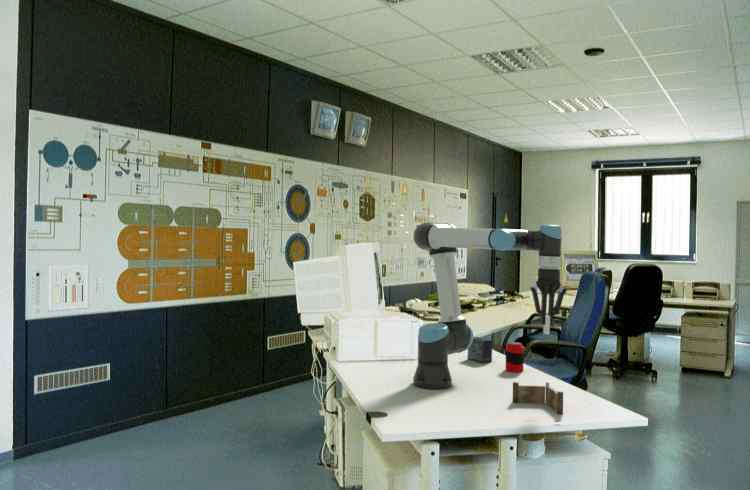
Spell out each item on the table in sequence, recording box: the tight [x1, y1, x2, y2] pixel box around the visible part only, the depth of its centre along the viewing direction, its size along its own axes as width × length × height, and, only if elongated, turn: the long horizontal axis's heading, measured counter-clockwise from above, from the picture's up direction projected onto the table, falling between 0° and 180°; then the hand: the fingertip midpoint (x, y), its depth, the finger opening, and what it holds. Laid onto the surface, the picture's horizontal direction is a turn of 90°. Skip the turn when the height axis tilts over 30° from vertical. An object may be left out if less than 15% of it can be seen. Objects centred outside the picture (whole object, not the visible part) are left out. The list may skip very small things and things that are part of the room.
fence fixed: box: [512, 381, 546, 404], centre depth 193 cm, size 11×2×7 cm, turn 89°
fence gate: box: [544, 382, 564, 415], centre depth 186 cm, size 13×2×7 cm, turn 3°
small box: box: [467, 336, 493, 364], centre depth 262 cm, size 11×6×10 cm, turn 34°
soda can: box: [505, 341, 525, 373], centre depth 242 cm, size 8×8×12 cm
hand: (546, 333), depth 198 cm, fingers closed
